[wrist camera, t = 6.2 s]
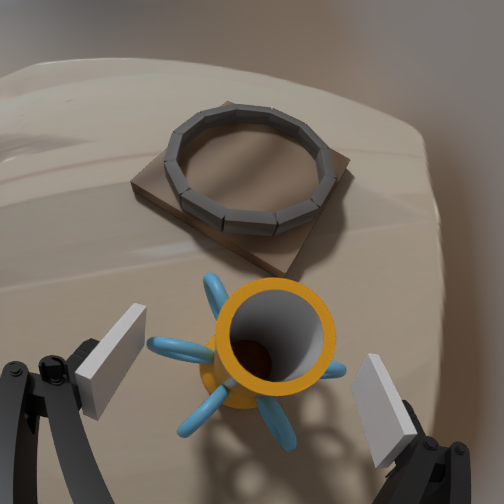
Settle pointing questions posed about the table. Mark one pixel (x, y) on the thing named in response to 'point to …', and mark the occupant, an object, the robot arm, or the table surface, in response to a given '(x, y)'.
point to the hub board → (245, 180)
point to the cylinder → (259, 350)
